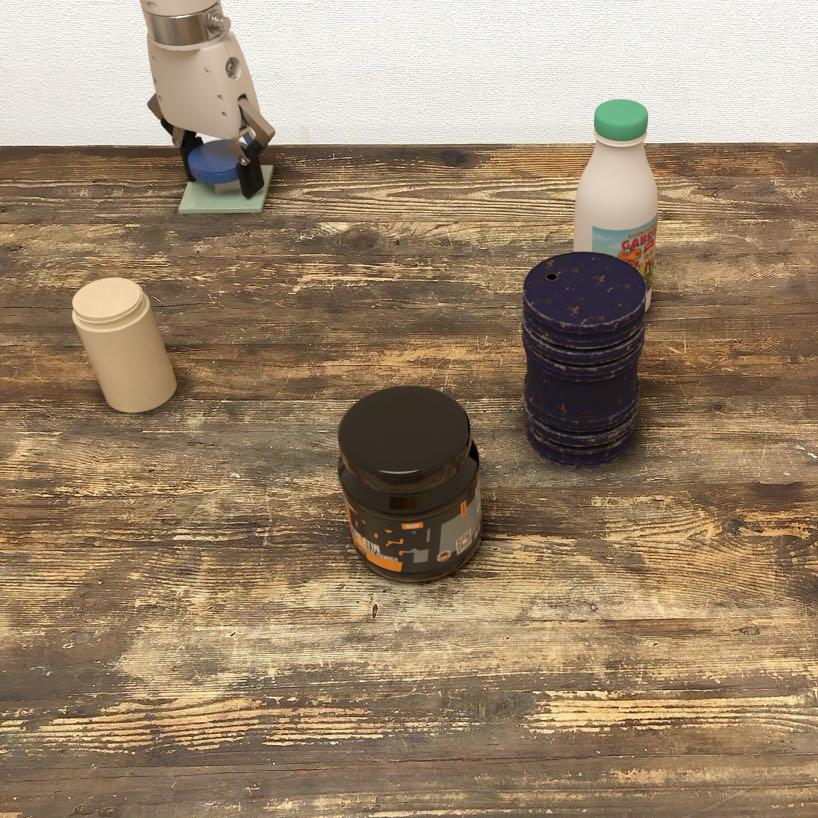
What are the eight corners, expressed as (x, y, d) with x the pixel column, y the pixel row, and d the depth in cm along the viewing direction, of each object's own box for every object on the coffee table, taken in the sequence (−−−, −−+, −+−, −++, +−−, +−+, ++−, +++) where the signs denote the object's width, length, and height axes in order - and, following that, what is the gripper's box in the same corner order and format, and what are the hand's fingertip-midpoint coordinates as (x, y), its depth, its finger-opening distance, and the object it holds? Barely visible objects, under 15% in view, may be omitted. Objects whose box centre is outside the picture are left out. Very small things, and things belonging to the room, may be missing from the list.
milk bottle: (560, 317, 104) (562, 122, 89) (588, 274, 109) (594, 82, 94) (635, 336, 102) (650, 139, 87) (660, 291, 107) (678, 97, 92)
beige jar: (119, 422, 95) (81, 329, 87) (95, 383, 98) (56, 290, 91) (187, 395, 97) (156, 302, 89) (161, 358, 101) (130, 265, 93)
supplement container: (328, 528, 86) (302, 417, 77) (437, 471, 90) (424, 360, 81) (398, 610, 81) (379, 502, 72) (510, 546, 85) (506, 436, 76)
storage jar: (655, 413, 95) (669, 271, 84) (607, 484, 89) (615, 341, 78) (555, 379, 98) (556, 238, 87) (503, 445, 93) (497, 303, 81)
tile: (179, 214, 117) (177, 209, 116) (195, 170, 123) (194, 165, 122) (261, 212, 117) (260, 208, 116) (273, 169, 123) (272, 164, 122)
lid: (267, 159, 119) (264, 147, 118) (229, 190, 115) (226, 177, 113) (216, 146, 121) (213, 133, 120) (177, 175, 117) (174, 162, 115)
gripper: (280, 20, 105) (310, 185, 119) (140, -10, 110) (185, 151, 124) (233, 52, 101) (271, 219, 114) (91, 19, 106) (143, 182, 119)
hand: (226, 182), depth 119 cm, fingers closed on lid, 6 cm apart
